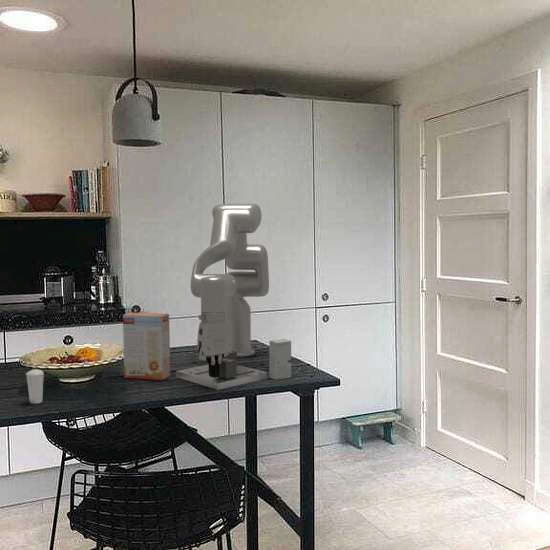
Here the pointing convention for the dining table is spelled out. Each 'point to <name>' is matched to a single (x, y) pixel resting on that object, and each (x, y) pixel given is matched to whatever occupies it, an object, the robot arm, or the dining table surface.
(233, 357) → the fader
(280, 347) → the skincare box
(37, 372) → the milkshake
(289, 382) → the dining table surface
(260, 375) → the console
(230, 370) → the fader
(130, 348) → the cracker box
